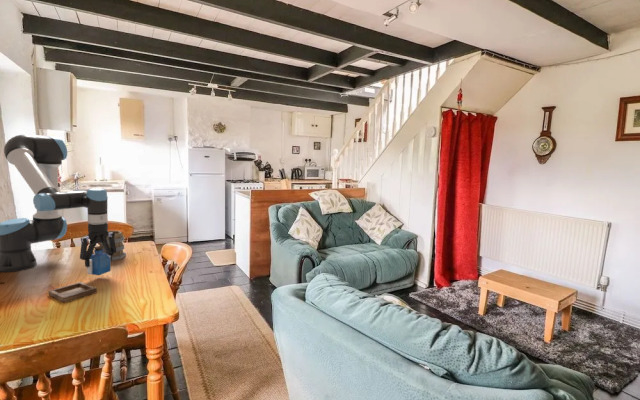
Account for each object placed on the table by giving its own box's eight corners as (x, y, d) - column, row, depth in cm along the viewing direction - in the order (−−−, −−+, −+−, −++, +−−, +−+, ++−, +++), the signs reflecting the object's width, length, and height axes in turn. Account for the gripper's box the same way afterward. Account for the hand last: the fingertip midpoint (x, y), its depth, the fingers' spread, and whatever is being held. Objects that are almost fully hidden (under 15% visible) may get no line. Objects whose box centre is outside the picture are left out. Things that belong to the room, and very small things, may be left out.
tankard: (118, 252, 193) (118, 227, 191) (129, 257, 186) (128, 231, 184) (78, 260, 177) (77, 232, 175) (88, 265, 170) (86, 237, 168)
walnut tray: (48, 295, 135) (48, 290, 134) (81, 285, 145) (81, 281, 145) (64, 302, 129) (63, 298, 129) (96, 292, 140) (96, 287, 139)
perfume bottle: (99, 275, 150) (98, 249, 149) (87, 273, 152) (86, 248, 150) (110, 270, 156) (109, 246, 155) (99, 269, 158) (98, 244, 156)
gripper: (77, 227, 140) (79, 279, 143) (124, 220, 158) (125, 266, 161) (68, 224, 143) (70, 275, 147) (115, 218, 161) (116, 263, 164)
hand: (99, 270), depth 154 cm, fingers closed on perfume bottle, 7 cm apart
